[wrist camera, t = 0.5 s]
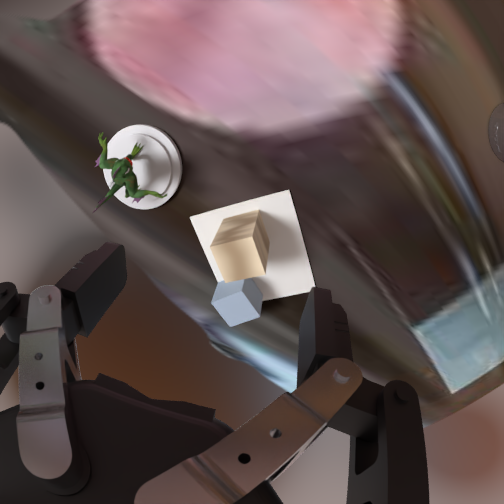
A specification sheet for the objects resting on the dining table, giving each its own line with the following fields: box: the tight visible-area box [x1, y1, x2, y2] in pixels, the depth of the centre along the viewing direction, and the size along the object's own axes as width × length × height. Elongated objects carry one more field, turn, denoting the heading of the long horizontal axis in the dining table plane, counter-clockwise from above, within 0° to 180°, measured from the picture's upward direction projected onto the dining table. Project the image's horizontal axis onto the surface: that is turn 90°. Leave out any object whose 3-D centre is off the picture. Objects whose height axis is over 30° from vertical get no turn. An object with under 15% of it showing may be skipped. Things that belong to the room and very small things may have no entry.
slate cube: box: [211, 278, 263, 327], centre depth 44 cm, size 5×5×5 cm
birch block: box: [210, 209, 270, 283], centre depth 38 cm, size 5×5×8 cm
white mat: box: [190, 190, 315, 301], centre depth 43 cm, size 14×16×1 cm
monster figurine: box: [94, 124, 182, 212], centre depth 34 cm, size 12×12×10 cm
